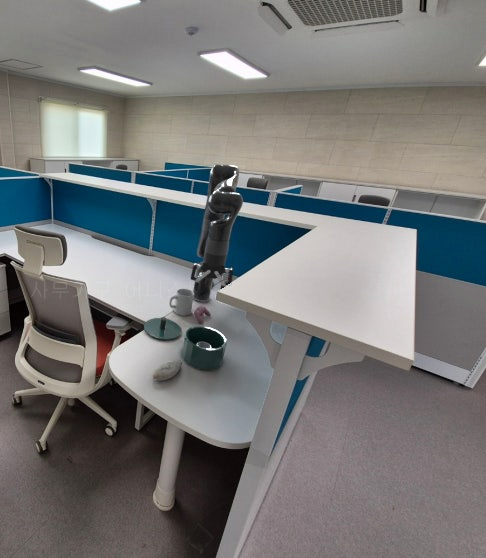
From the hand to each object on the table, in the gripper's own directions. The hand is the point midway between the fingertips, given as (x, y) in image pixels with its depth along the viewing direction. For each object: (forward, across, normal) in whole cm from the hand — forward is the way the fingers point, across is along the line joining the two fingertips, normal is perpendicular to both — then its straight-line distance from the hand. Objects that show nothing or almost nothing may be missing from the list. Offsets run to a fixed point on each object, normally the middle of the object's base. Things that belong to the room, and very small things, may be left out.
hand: (208, 292), depth 112 cm
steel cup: (+28, -2, +2) cm, 28 cm away
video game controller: (+28, -1, -28) cm, 40 cm away
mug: (+28, +10, -31) cm, 43 cm away
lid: (+28, +16, -12) cm, 34 cm away
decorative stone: (+28, +10, +16) cm, 34 cm away
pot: (+28, -2, +2) cm, 28 cm away
